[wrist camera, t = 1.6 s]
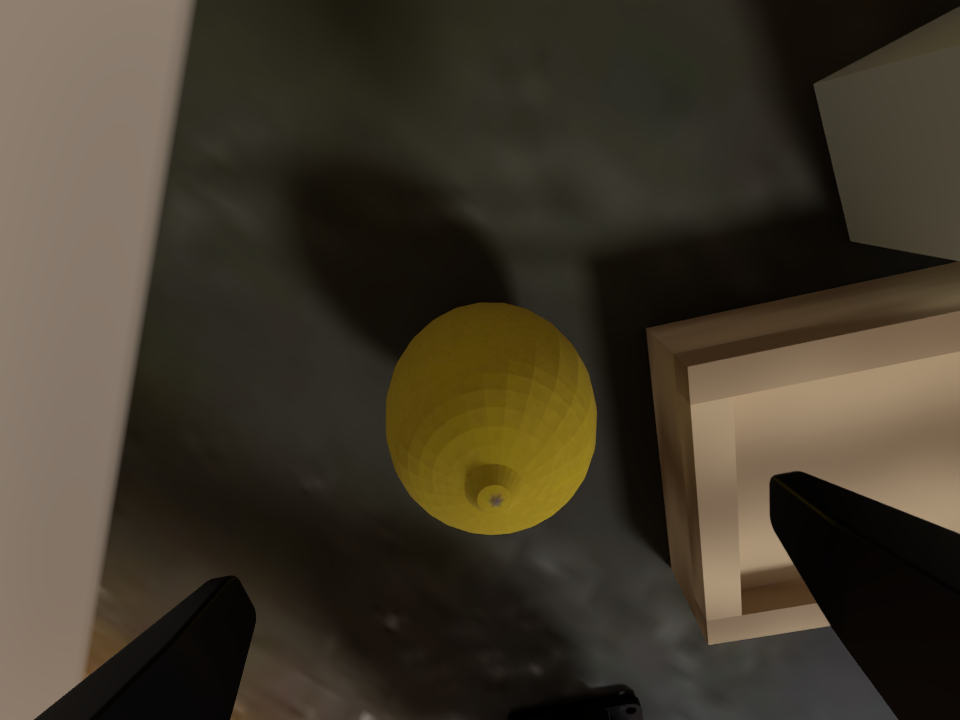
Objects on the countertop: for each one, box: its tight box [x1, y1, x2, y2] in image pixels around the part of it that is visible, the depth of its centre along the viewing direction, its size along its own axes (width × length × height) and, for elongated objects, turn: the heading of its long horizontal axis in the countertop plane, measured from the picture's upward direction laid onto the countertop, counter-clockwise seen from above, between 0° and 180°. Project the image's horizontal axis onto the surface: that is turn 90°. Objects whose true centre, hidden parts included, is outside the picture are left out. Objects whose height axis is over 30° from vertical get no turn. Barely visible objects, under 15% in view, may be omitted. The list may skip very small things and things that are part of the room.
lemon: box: [386, 303, 597, 535], centre depth 13 cm, size 6×6×8 cm
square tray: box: [646, 261, 960, 645], centre depth 16 cm, size 11×11×4 cm
